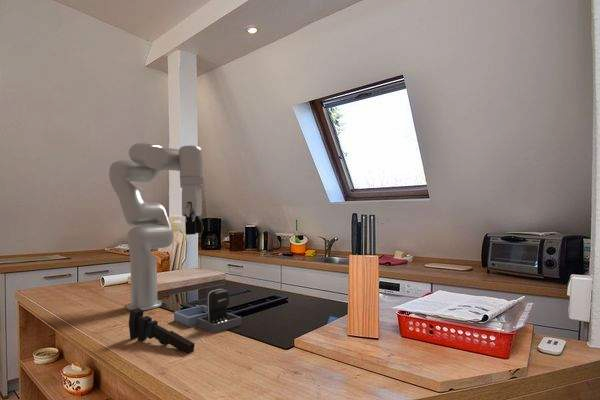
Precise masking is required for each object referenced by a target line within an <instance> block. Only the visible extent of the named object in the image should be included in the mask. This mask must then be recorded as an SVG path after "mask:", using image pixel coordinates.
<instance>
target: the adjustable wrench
mask: <svg viewBox="0 0 600 400" xmlns="http://www.w3.org/2000/svg"><path fill="white" fill-rule="evenodd" d="M144 312H145V310H142V309H140V308H136V309H132V310H129V319H128V331H129V337H130V340H134V339H137V341H139V342H140V341H144V340H146V339H148V340H149V339H150V340H151V339H153V338H154V339H156V340H158V343H159V344H161V345H162V346H167V345H170V346H171V347H173V348H175V349H177V350H178V351H180V352H182V353H183V354H187V355H189V354H192V353H193V352H194V351H195V344H196V343H194V342H193V341H191V340H189V339H188V338H185V337H184V336H182V335H180V334H178V333H176V332H175V331H173V330H167V329H166V328H164V327H162V326H160V325H159V323H158V322H159V321H158V320H153V318H152V317H151V316H149V315H145V316H144Z"/></svg>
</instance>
